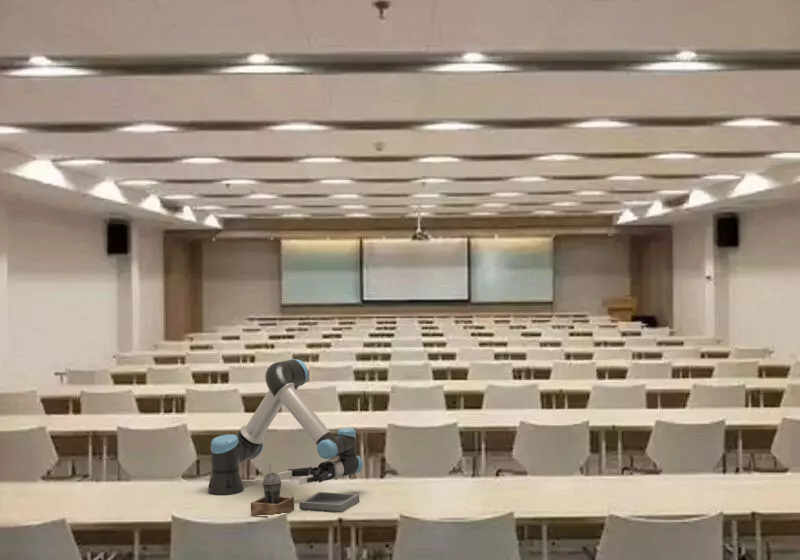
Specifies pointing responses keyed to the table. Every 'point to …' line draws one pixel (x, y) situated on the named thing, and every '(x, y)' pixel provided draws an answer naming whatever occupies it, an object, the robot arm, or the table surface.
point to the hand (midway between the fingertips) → (288, 479)
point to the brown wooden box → (272, 506)
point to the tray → (329, 502)
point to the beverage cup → (272, 487)
